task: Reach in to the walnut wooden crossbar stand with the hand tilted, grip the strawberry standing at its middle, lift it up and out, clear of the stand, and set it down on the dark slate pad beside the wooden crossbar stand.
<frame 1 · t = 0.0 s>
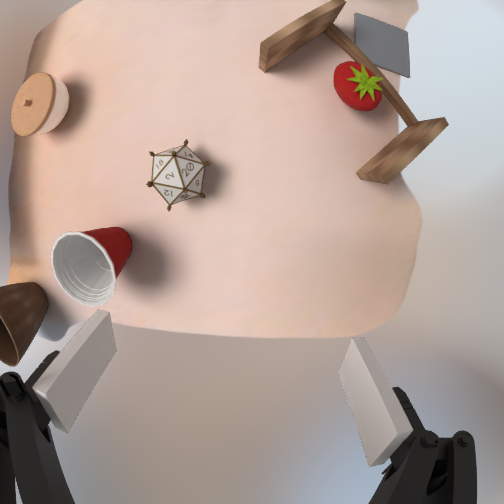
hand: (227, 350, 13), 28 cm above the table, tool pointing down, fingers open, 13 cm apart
game die: (184, 173, 38), on the table
plant pot: (37, 296, 45), on the table
plastic cup: (118, 244, 41), on the table
pad: (382, 44, 30), on the table
lidded jar: (57, 108, 33), on the table
wooden crossbar stand: (345, 94, 34), on the table
strawberry: (344, 95, 34), on the table
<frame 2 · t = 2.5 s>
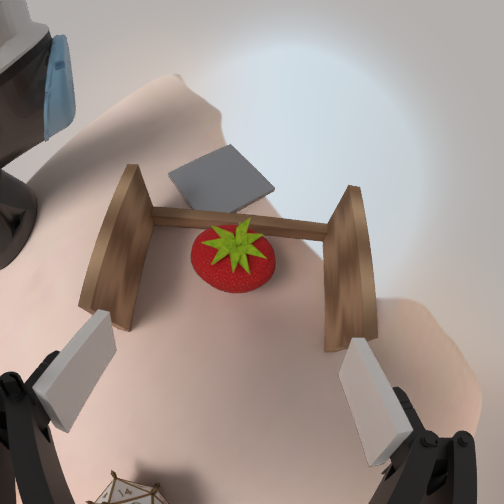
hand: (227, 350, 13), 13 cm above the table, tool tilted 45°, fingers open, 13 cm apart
game die: (147, 498, 17), on the table
pad: (219, 182, 34), on the table
wooden crossbar stand: (232, 279, 29), on the table
strawberry: (232, 280, 29), on the table
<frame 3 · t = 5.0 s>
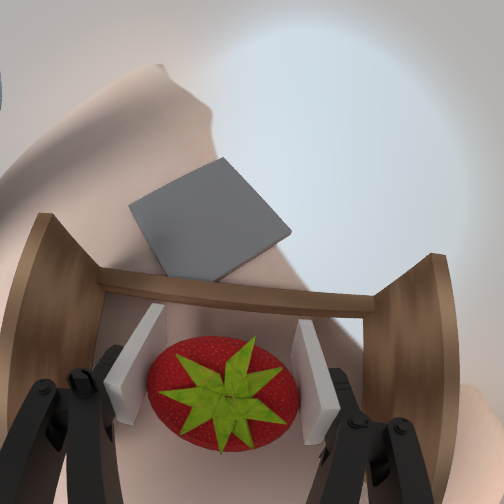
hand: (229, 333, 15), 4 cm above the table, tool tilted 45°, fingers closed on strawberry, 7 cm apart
pad: (205, 220, 22), on the table
wooden crossbar stand: (224, 390, 17), on the table
strawberry: (225, 390, 17), on the table, touching gripper
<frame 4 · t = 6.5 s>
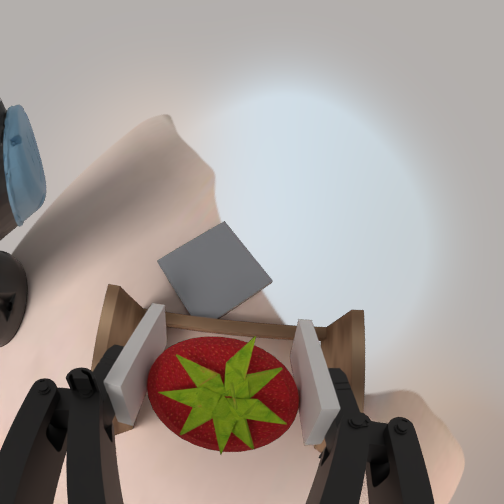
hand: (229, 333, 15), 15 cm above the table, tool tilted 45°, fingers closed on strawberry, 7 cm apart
pad: (213, 272, 32), on the table
wooden crossbar stand: (227, 386, 26), on the table
strawberry: (225, 390, 17), point 11 cm above the table, touching gripper
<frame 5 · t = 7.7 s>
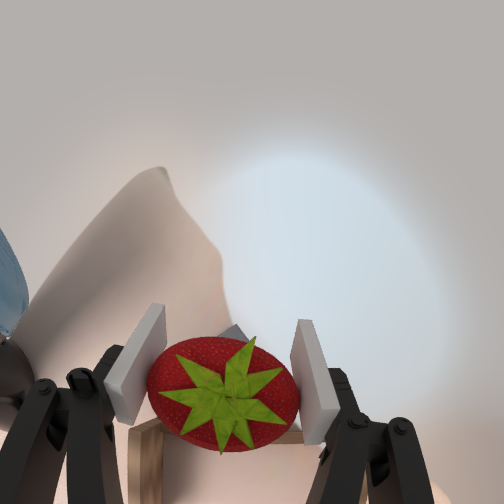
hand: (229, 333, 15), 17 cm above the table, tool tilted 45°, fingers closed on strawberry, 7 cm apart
wooden crossbar stand: (245, 480, 23), on the table
strawberry: (225, 390, 17), point 14 cm above the table, touching gripper
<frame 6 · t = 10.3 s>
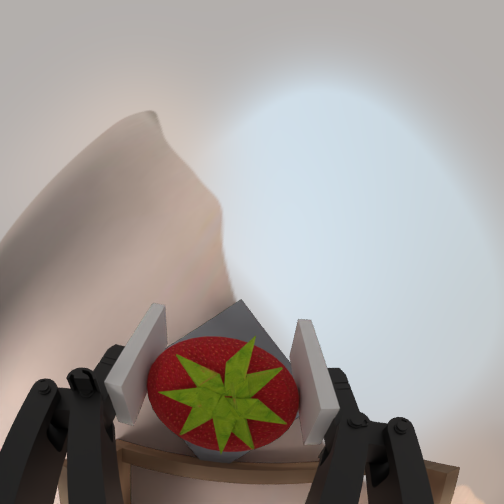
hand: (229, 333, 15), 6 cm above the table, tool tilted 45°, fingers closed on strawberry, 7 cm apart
pad: (226, 389, 18), on the table
strawberry: (225, 390, 17), point 2 cm above the table, touching gripper
when the fingers open (6 cm above the table, at t = 10.4 s): strawberry drops 1 cm, resting on pad.
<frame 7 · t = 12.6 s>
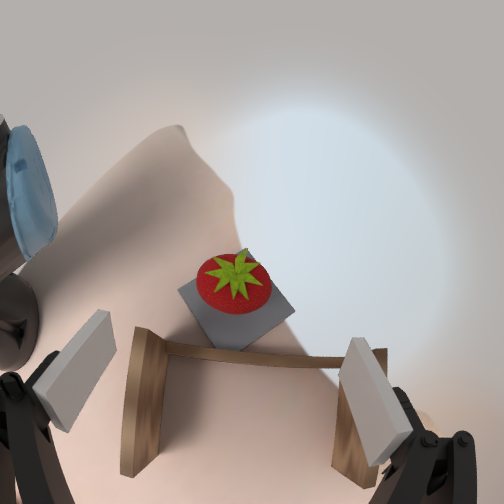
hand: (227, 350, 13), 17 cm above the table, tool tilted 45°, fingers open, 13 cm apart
pad: (235, 302, 32), on the table
wooden crossbar stand: (251, 414, 26), on the table
strawberry: (234, 301, 32), resting on pad
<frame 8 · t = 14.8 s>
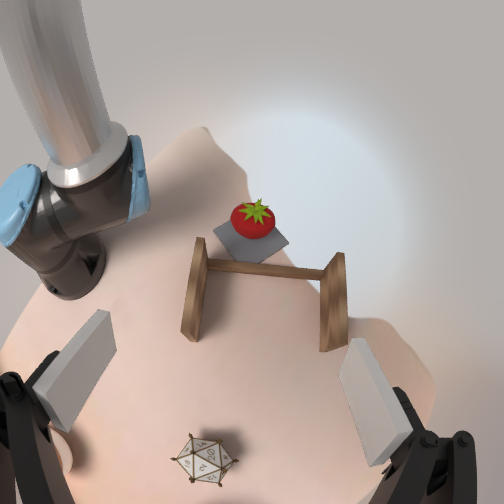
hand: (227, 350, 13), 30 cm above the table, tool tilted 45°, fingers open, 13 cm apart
game die: (207, 453, 33), on the table
pad: (250, 237, 51), on the table
lidded jar: (59, 448, 29), on the table
wooden crossbar stand: (262, 307, 45), on the table
strawberry: (250, 236, 50), resting on pad
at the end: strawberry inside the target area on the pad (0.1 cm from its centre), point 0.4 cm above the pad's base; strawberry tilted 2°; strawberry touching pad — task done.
